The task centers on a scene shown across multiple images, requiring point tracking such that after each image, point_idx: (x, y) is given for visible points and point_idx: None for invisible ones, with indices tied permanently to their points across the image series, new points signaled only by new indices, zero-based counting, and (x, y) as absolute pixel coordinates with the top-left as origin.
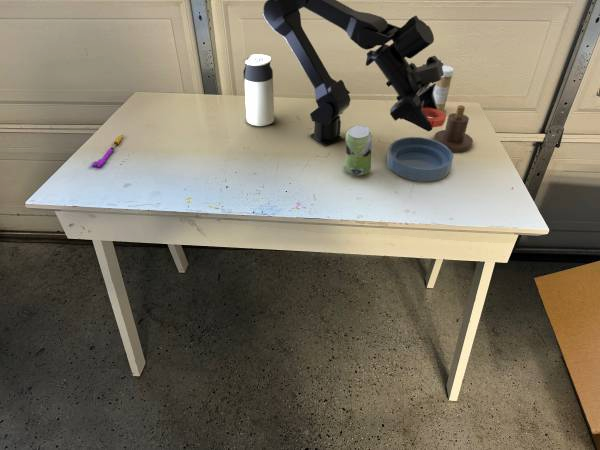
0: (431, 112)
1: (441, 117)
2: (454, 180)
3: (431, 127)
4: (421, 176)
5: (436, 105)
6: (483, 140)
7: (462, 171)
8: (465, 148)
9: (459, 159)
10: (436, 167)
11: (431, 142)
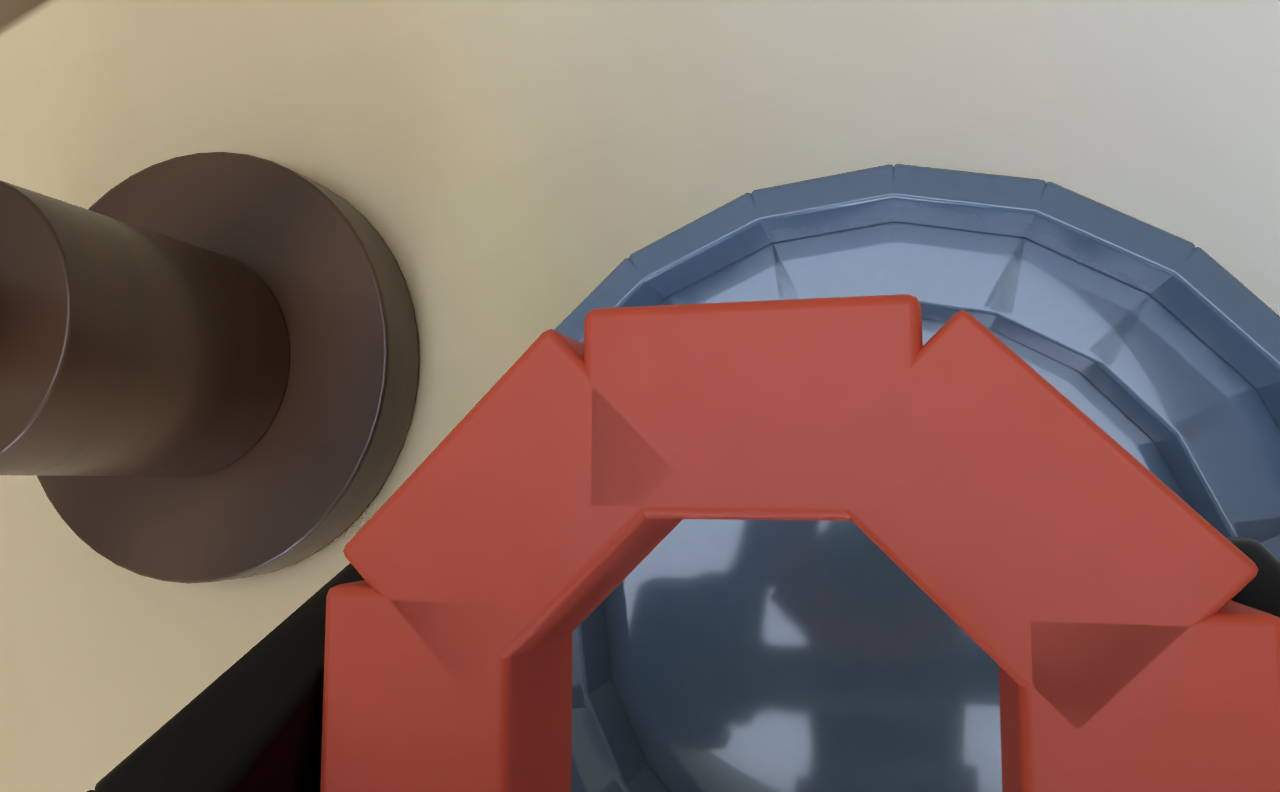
0: (526, 772)
1: (804, 400)
2: (1003, 124)
3: (1272, 570)
4: None
5: (170, 723)
6: (61, 103)
7: (759, 105)
8: (327, 191)
9: (524, 207)
10: (1217, 305)
11: None
